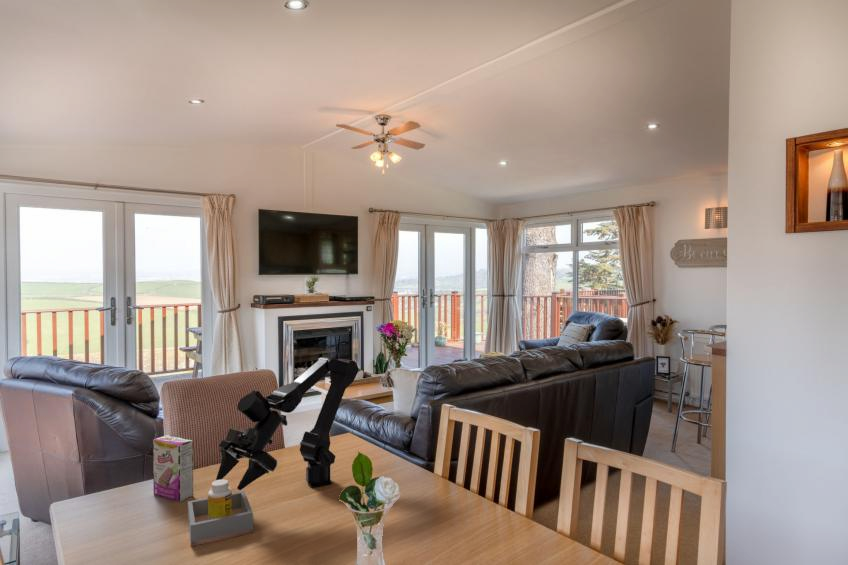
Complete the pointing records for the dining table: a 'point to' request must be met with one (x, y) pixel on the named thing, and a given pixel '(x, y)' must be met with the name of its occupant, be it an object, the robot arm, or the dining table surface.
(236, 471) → the dining table surface
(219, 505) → the supplement bottle
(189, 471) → the candy bar box
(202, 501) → the walled box
